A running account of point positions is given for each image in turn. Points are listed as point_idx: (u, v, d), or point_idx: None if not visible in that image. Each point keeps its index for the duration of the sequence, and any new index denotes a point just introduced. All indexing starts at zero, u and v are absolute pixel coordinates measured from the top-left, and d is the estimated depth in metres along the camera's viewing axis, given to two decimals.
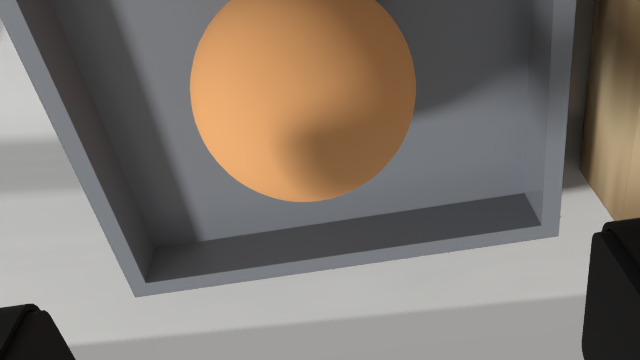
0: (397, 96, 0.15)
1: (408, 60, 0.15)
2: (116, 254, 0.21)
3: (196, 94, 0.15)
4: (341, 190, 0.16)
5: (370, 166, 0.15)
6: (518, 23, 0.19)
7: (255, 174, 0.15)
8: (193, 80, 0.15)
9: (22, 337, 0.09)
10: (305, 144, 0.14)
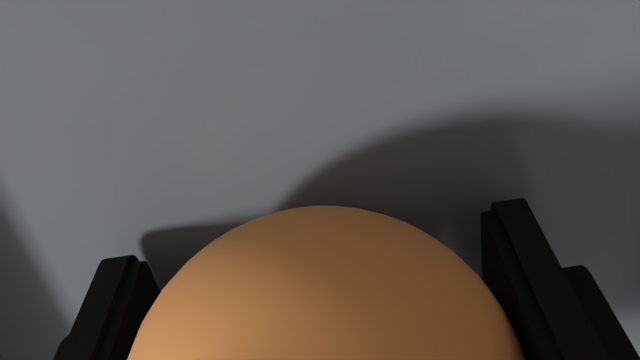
0: None
1: None
2: None
3: None
4: None
5: None
6: None
7: None
8: None
9: (131, 283, 0.10)
10: None
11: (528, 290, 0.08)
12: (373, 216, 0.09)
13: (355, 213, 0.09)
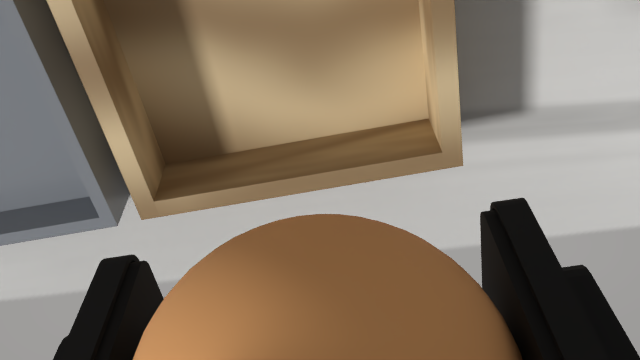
0: None
1: None
2: None
3: None
4: None
5: None
6: None
7: None
8: None
9: (131, 283, 0.10)
10: None
11: (528, 290, 0.08)
12: (374, 225, 0.09)
13: (356, 222, 0.09)
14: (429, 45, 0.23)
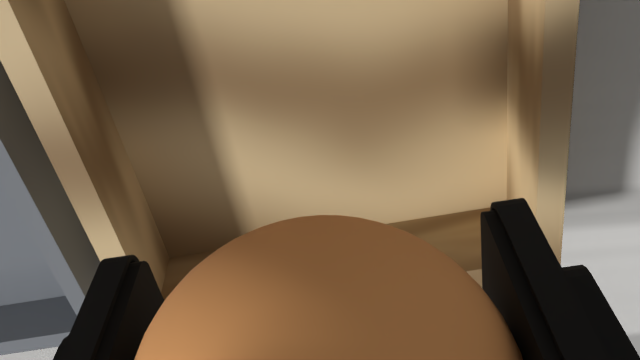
0: None
1: None
2: None
3: None
4: None
5: None
6: None
7: None
8: None
9: (131, 283, 0.10)
10: None
11: (528, 290, 0.08)
12: (375, 226, 0.09)
13: (357, 223, 0.09)
14: (526, 126, 0.17)
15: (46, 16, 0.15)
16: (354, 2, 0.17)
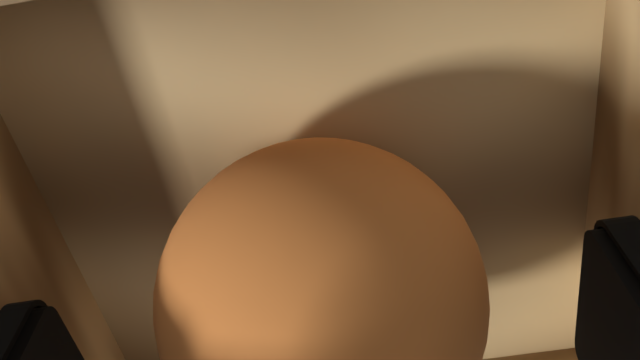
0: (471, 349, 0.09)
1: (482, 279, 0.10)
2: None
3: (159, 335, 0.10)
4: None
5: None
6: None
7: None
8: (155, 308, 0.10)
9: (30, 332, 0.10)
10: None
11: None
12: (359, 143, 0.11)
13: (344, 140, 0.11)
14: None
15: None
16: (388, 112, 0.12)
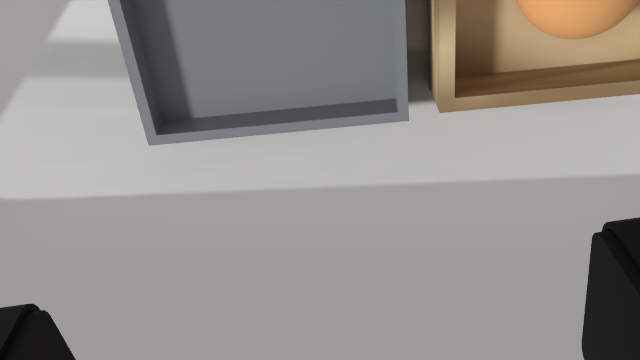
0: None
1: None
2: (140, 112, 0.35)
3: None
4: (605, 26, 0.29)
5: (625, 11, 0.28)
6: None
7: (567, 9, 0.28)
8: None
9: (22, 337, 0.09)
10: None
11: None
12: None
13: None
14: None
15: None
16: None
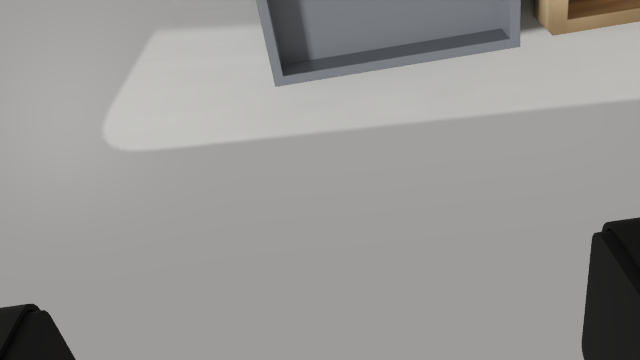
0: None
1: None
2: (269, 55, 0.37)
3: None
4: None
5: None
6: None
7: None
8: None
9: (22, 337, 0.09)
10: None
11: None
12: None
13: None
14: None
15: None
16: None
